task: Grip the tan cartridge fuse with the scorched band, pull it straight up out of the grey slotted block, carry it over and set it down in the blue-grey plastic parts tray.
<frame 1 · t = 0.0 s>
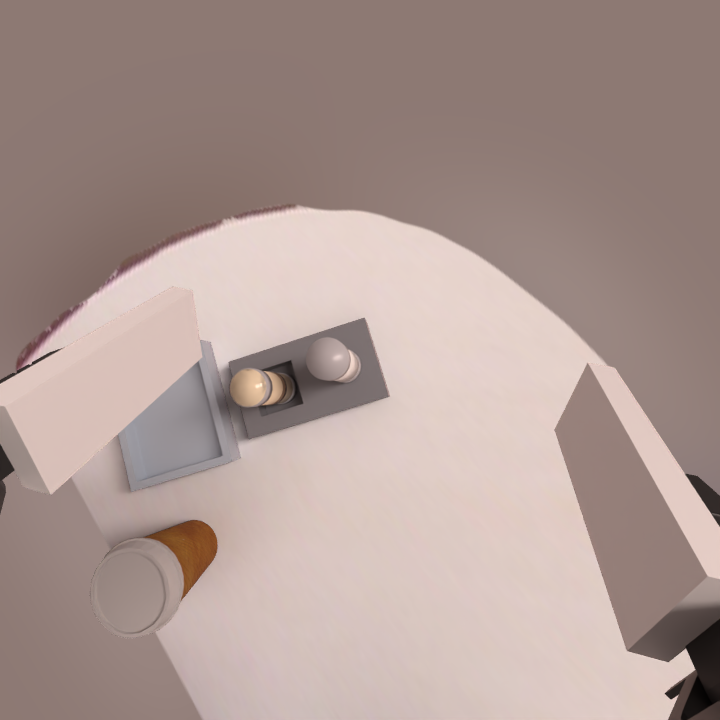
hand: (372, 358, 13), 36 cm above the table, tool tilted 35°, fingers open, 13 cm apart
grey slotted block: (312, 379, 50), on the table
parts tray: (177, 414, 52), on the table
disposable coffee cup: (195, 544, 50), on the table
blown fuse: (282, 388, 50), resting on grey slotted block
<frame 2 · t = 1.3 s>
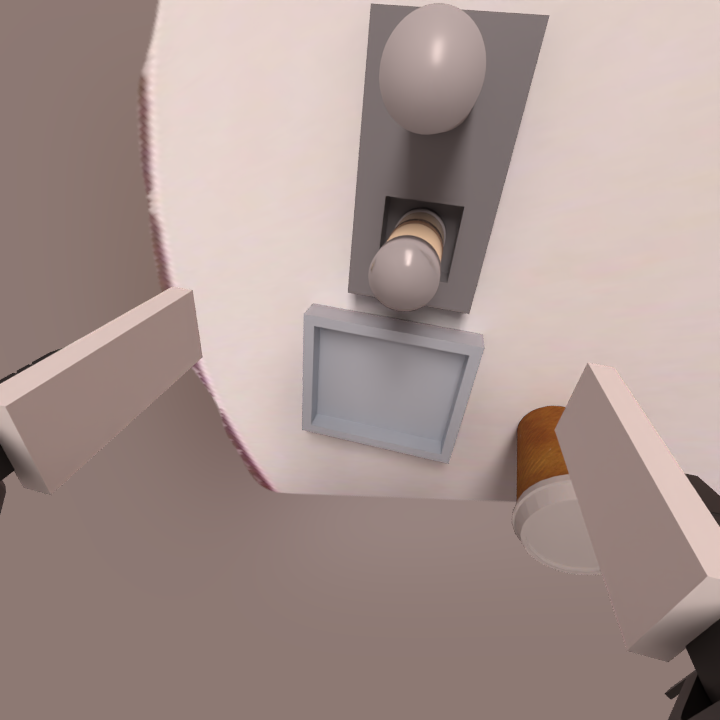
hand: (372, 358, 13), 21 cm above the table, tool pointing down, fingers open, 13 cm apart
grey slotted block: (430, 178, 29), on the table
parts tray: (385, 380, 39), on the table
disposable coffee cup: (551, 429, 38), on the table
blown fuse: (420, 233, 31), resting on grey slotted block
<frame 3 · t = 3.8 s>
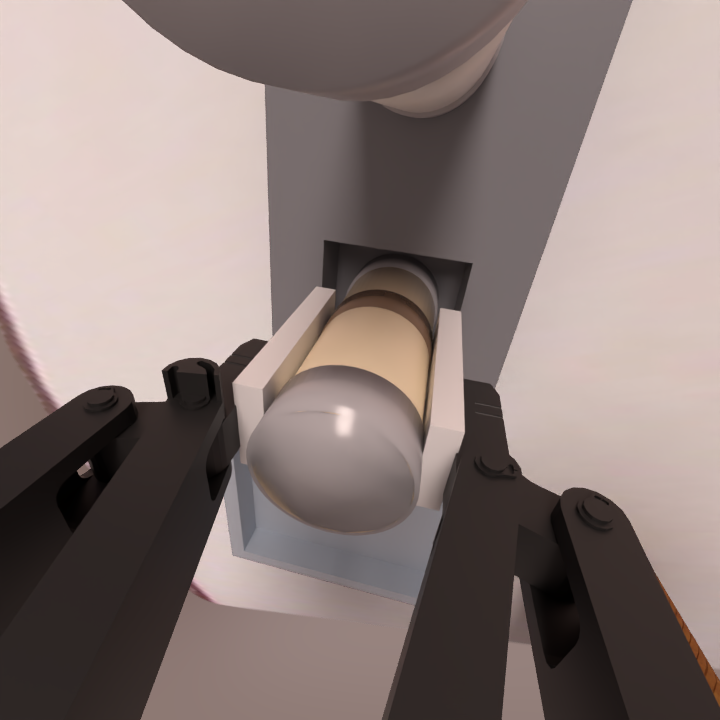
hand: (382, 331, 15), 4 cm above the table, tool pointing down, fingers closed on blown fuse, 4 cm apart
grey slotted block: (409, 203, 16), on the table
parts tray: (350, 493, 26), on the table
disposable coffee cup: (596, 570, 25), on the table
blown fuse: (394, 296, 18), resting on grey slotted block, touching gripper
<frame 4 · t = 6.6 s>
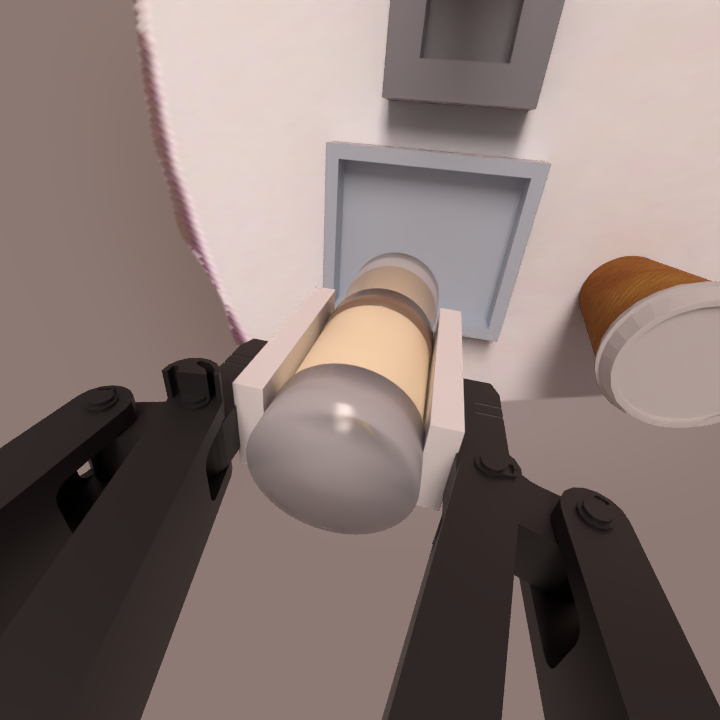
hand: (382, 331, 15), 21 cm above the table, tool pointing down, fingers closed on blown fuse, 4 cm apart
parts tray: (421, 242, 33), on the table
disposable coffee cup: (620, 292, 32), on the table
blown fuse: (394, 295, 18), point 17 cm above the table, touching gripper
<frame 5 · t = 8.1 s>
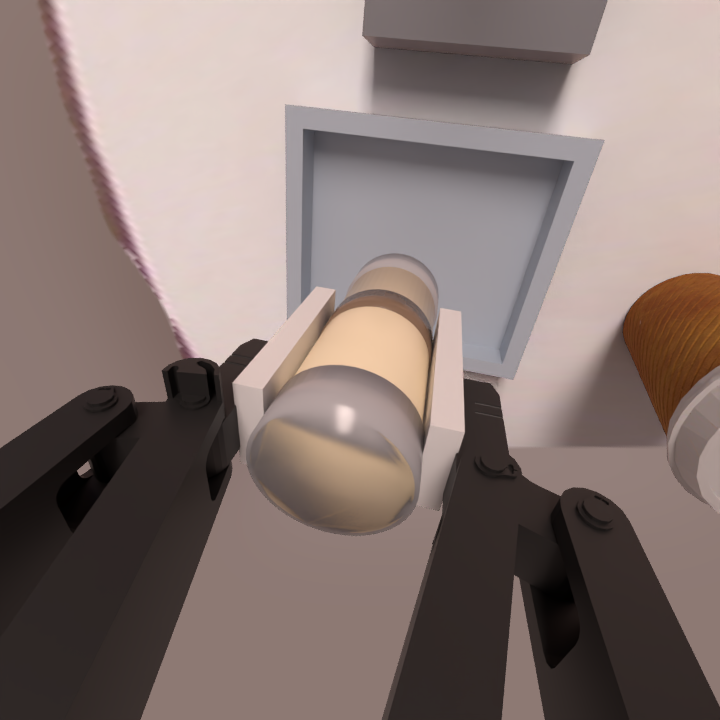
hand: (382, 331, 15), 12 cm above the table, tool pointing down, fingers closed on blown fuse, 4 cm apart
parts tray: (416, 247, 25), on the table
disposable coffee cup: (679, 320, 24), on the table
blown fuse: (394, 296, 18), point 9 cm above the table, touching gripper
when the fingers open (5 cm above the table, at t = 9.5 s): blown fuse stays where it is, resting on parts tray.
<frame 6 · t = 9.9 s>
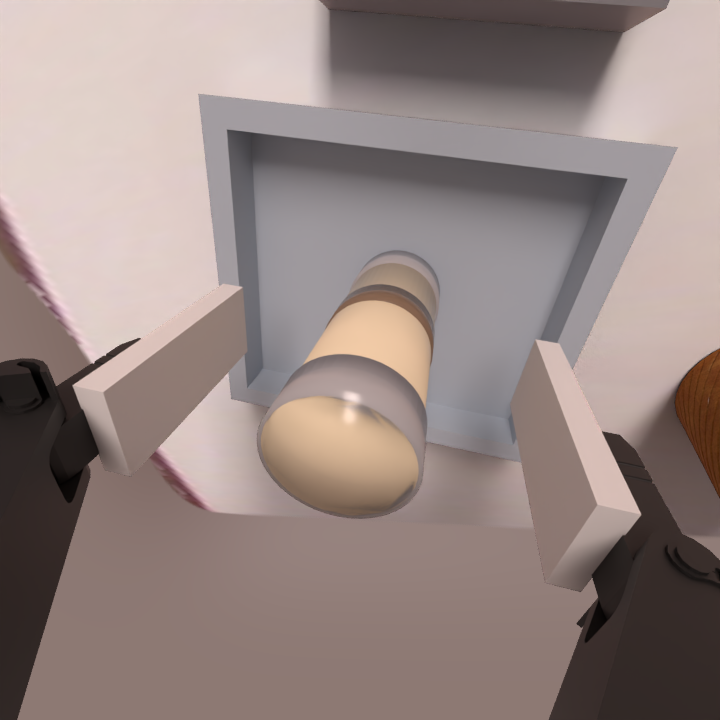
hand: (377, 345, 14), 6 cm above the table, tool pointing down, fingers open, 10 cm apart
parts tray: (397, 288, 19), on the table
blown fuse: (397, 292, 18), point 1 cm above the table, touching parts tray
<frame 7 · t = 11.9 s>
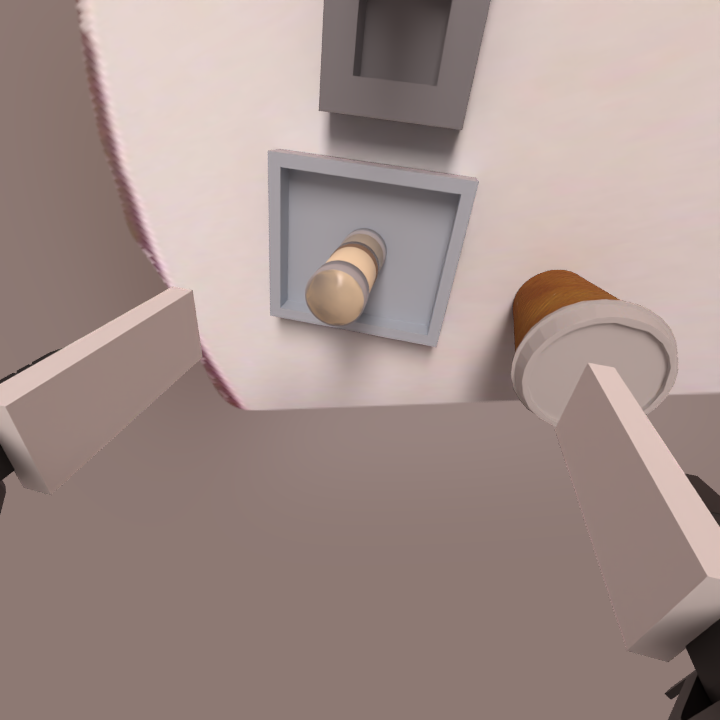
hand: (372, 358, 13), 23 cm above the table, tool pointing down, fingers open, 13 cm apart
parts tray: (365, 249, 34), on the table
disposable coffee cup: (550, 303, 34), on the table
blown fuse: (364, 251, 34), resting on parts tray
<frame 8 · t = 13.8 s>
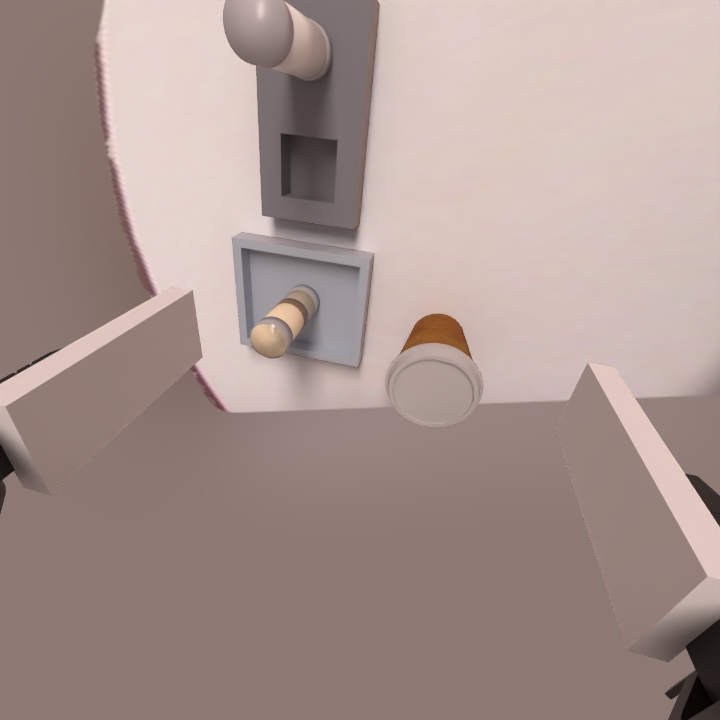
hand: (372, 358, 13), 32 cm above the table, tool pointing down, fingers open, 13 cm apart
grey slotted block: (318, 122, 38), on the table
parts tray: (305, 298, 48), on the table
disposable coffee cup: (437, 336, 47), on the table
blown fuse: (304, 299, 48), resting on parts tray
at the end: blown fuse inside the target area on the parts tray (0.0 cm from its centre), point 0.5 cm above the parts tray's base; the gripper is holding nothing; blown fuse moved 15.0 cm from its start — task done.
